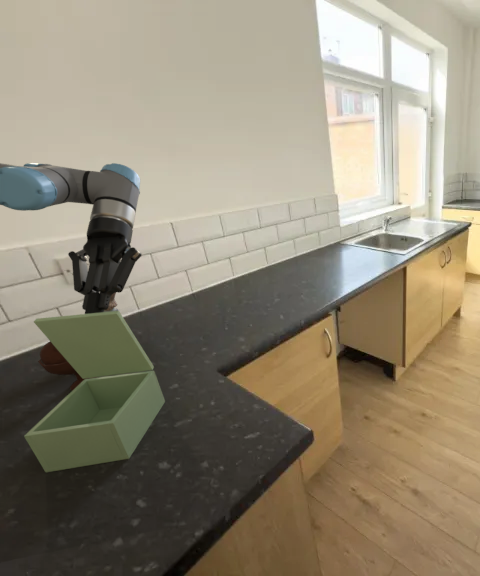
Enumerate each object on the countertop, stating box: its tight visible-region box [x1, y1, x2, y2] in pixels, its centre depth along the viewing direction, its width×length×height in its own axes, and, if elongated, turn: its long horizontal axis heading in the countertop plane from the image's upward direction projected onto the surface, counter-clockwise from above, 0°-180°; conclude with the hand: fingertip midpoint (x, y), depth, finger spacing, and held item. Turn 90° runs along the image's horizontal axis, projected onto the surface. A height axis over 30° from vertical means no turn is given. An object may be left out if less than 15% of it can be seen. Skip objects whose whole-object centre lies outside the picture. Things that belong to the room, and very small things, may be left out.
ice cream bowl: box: [37, 340, 98, 392], centre depth 78 cm, size 11×11×15 cm
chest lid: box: [33, 310, 155, 379], centre depth 64 cm, size 17×14×1 cm
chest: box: [23, 370, 166, 473], centre depth 64 cm, size 16×14×9 cm
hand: (91, 325), depth 63 cm, fingers closed
